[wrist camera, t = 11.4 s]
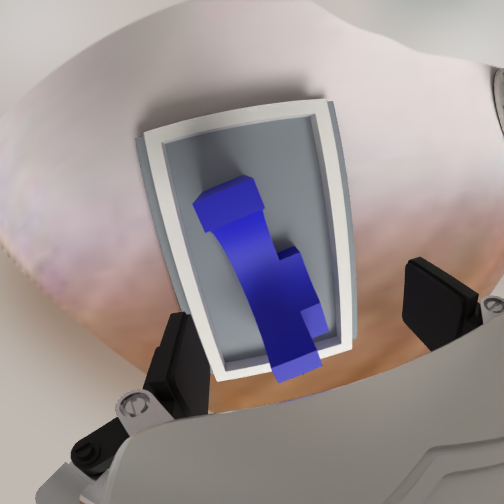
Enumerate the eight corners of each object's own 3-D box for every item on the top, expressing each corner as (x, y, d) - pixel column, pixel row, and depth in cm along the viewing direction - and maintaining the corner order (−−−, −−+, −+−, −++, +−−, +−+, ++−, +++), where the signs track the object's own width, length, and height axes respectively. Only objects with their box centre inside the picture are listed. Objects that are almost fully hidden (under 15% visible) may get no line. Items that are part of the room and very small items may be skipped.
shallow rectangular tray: (328, 103, 18) (339, 97, 15) (352, 332, 24) (362, 345, 22) (139, 139, 17) (129, 137, 15) (206, 367, 23) (205, 383, 21)
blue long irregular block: (317, 311, 22) (344, 356, 16) (265, 332, 22) (278, 383, 16) (265, 166, 18) (283, 166, 12) (202, 191, 18) (192, 203, 12)
